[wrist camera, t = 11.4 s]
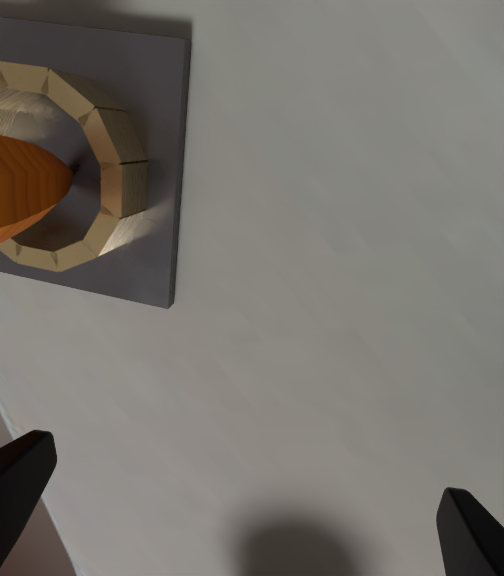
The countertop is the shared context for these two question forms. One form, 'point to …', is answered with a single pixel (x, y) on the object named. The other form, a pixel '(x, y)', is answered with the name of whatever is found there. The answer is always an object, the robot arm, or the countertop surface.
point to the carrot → (28, 184)
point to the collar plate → (65, 138)
